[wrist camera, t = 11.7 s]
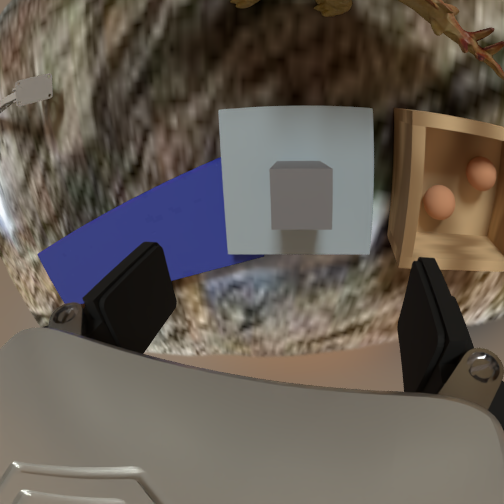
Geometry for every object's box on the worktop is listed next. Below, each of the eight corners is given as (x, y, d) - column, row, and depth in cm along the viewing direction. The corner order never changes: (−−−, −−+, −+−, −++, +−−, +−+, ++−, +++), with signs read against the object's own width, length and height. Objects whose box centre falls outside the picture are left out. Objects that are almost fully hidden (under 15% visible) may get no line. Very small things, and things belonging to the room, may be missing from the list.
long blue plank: (50, 246, 41) (76, 300, 43) (36, 253, 38) (64, 309, 41) (230, 153, 27) (268, 250, 30) (216, 156, 24) (259, 263, 27)
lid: (369, 109, 21) (407, 94, 13) (367, 250, 26) (396, 299, 17) (221, 111, 23) (184, 96, 15) (230, 250, 27) (202, 298, 19)
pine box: (504, 127, 18) (539, 138, 13) (488, 241, 24) (512, 271, 19) (394, 107, 21) (412, 110, 16) (387, 235, 27) (398, 267, 22)
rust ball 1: (450, 182, 22) (462, 192, 19) (446, 213, 23) (457, 226, 21) (421, 179, 22) (431, 189, 20) (417, 211, 24) (426, 224, 21)
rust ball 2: (488, 155, 19) (504, 163, 17) (484, 186, 21) (499, 197, 18) (462, 151, 20) (476, 158, 18) (459, 183, 21) (472, 193, 19)
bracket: (54, 97, 25) (-23, 120, 19) (30, 114, 37) (-18, 130, 31) (52, 72, 24) (-24, 94, 17) (29, 97, 36) (-20, 113, 29)
